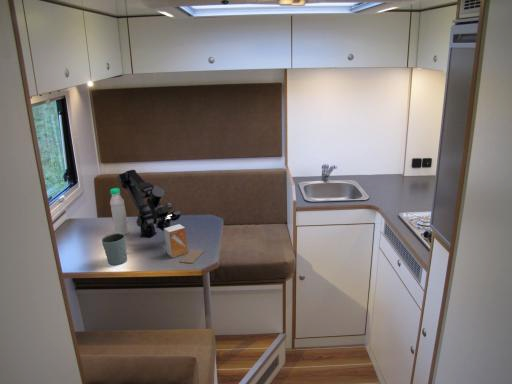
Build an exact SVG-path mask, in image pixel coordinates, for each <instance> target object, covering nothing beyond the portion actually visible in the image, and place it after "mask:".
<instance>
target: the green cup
mask: <svg viewBox="0 0 512 384" xmlns="http://www.w3.org/2000/svg"><path fill="white" fill-rule="evenodd" d="M101 244H102V246H103V250H104V253H105V256H106V259H107V260H106V261H107V263H108V265H109V266H112V267H114V266H115V267H116V266H121V265H123V264H125V263H127V262H128V253H127V243H126V235H124V234H121V233H116V234H115V233H112V234H108V235H106V236H104V237H102V238H101Z"/></svg>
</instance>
